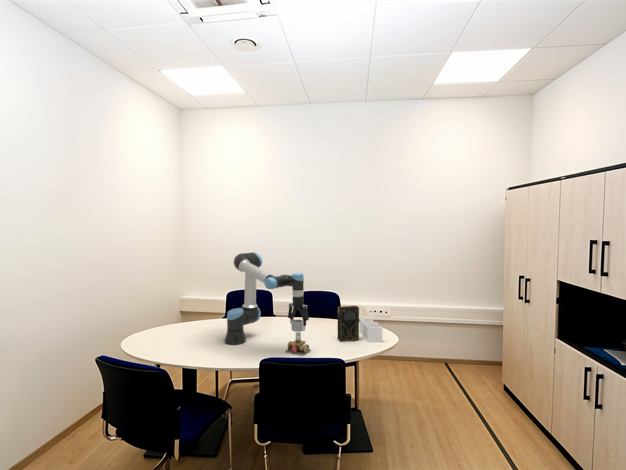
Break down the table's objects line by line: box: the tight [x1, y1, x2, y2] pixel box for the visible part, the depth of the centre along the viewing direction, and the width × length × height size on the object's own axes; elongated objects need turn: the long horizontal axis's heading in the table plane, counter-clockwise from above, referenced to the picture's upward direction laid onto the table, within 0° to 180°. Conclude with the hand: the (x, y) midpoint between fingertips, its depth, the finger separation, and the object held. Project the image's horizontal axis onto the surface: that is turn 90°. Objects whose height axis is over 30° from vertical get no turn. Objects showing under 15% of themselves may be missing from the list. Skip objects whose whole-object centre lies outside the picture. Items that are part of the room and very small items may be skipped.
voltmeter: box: [337, 305, 360, 343], centre depth 258 cm, size 16×9×25 cm, turn 105°
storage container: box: [359, 317, 384, 343], centre depth 265 cm, size 25×11×11 cm, turn 6°
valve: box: [285, 332, 312, 357], centre depth 234 cm, size 14×11×12 cm
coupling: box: [291, 319, 303, 333], centre depth 234 cm, size 8×8×6 cm
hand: (298, 329), depth 234 cm, fingers closed on coupling, 8 cm apart
